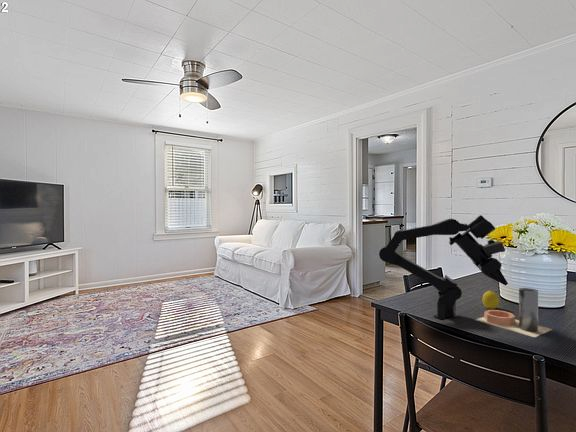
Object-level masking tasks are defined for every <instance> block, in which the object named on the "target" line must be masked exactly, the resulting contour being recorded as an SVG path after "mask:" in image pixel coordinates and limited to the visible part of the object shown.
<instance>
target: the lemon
mask: <svg viewBox="0 0 576 432" xmlns="http://www.w3.org/2000/svg"><path fill="white" fill-rule="evenodd" d="M481 302H482V304H483V306H484V307H485V308H487V309H488V310H496V308H497V309H498V307H499V304H500V300H499V296H498V294H497V293H495V292H494V291H493V290H488V291H486V292H484V293H483V295H482V301H481Z"/></svg>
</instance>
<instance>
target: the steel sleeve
mask: <svg viewBox="0 0 576 432" xmlns="http://www.w3.org/2000/svg"><path fill="white" fill-rule="evenodd" d="M518 320H519V328H520V329H522V330H524V331H529V332H537V331H538V326H539V289H535V288H531V287H519V288H518Z"/></svg>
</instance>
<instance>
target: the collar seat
mask: <svg viewBox="0 0 576 432" xmlns="http://www.w3.org/2000/svg"><path fill="white" fill-rule="evenodd" d="M483 317H484V319H485V320H486V321H487V322H490V323H494V324H497V325H508V326H510V325H513V324H515V319H516V315H514V314H513V313H512V312H508V311H505V310H498V309H488V310H485V311H484V312H483Z"/></svg>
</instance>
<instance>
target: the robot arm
mask: <svg viewBox="0 0 576 432" xmlns="http://www.w3.org/2000/svg"><path fill="white" fill-rule="evenodd" d="M495 230H496V227H495V226H494V225H493V223H492V222H490V221H488V220H487V218H485V217H484V216H483V215H481V214H479V215H478V216H477V217H476V218H475V219H474V220H473V221H471V222H469V224H467V223H460V222H459V220H457V219H455V218H447V219H444V220H441V221H438V222H436V223H434V224H430V225H426V226H425V225H424V226H420V227H418V226H417V227H413V228H409V229H403V230H399V229H398V230H397V231H395V233H394V235H393V236H392V238H391V239H390V241H389V242H388V243H387V245H384V246H382V248H380V250H379V252H378V256H379V259H380V260H381V261H383V262H385V263H388V264H390V265H394V266H396V267H397V266H398V267H400V268H402V269H404V270H406V271H407V272H409V273H410V274H412V275H414V276H415V277H417V278H419V279H421V280H423V281H424V282H425V283H427V284H429V285H431V286H433V287H434V288H435V289H436V290H437V291H438V292H437V293H436V294H437V298H438V300H437V302H436V304H437V305H436V307H437V308H436V309H437V310H436V311H437V314H435V315H433V318H436V319H439V320H443V321H446V320H448V319H455V317H457V311H456V310H457V305H456V302H457V300H459V299H461V297H462V293H463V292H462V289H461V287H460V284H458V282H457V281H456V279H452V278H450V277H449V276H448V275H446V274H445V275H444V277H442V276H438V275H437V274H435V273H433V272H431V271H429V270H428V269H426V268H424V267H422V266H421V265H419V264H417V263H416V262H414V261H412V260H411V259H408V258H406V257H405V256H404V255H403V254H402V253H401V252H400V251H398V250H397V249H398V247H399V246H400V244H401V243H402V242H403V241H406V240H411V239H416V238H417V239H418V238H423V237H429V236H449V237H448V239H449V240H448V244H449V245H450V246H453V245H454V244H456V245H457V246H458V247H459V248H460V250H462V251H463V252H464V254H465V256H467V257H468V258H469V259H470V260H471V261H472V264H474V265H475V266H476V268H477V269H479V271H481V273H482V274H483V275H484V276H486V277H488V278H490V279H492V280H494V281H496V282H498V283H500V284H502V285H504V286H507V285H508V284H509V283H508V280H507V279H506V278H505V276H504V274H503V272H502V271H501V269H502V268H501V267H502V263H501V262H500V261H499V259H497V258H496V257H493V255H495V254H497V253H498V254H499V253H504V252H506V247H505V246H504V243H503V241H500V240H499V241H498V240H496V241H495V240H494V239H489V240H487V244H484V245H483V244H481V243H479V242H478V241H477V240H476V239H481V240H482V239H484V238H485V237H487V236H488V235H490V234H491V233H492V232H494V231H495ZM460 232H463V233H460ZM470 233H471V234H472V235H473V236H472V235H471V234H470ZM454 235H455V236H454ZM452 236H453V237H452ZM475 238H476V239H475Z"/></svg>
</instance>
